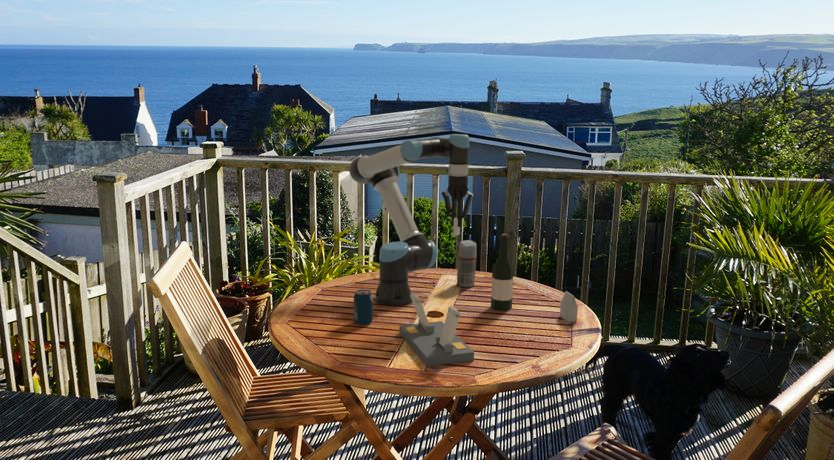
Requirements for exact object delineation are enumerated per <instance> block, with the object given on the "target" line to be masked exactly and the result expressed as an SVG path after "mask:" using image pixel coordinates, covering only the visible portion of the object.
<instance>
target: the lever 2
mask: <svg viewBox="0 0 834 460" xmlns="http://www.w3.org/2000/svg"><path fill="white" fill-rule="evenodd" d="M460 317H461V312H460V311H459V310H458V309H456V308H455V307H454V306H453V305H450V306H448V308H447V313H446V317H445V320H444V322H443V323H444V327H443V330H442V334H441V337H440V341H439V343H440V344H441V345H442V346H443V348H444V345H446V344H452V341H453V337H454V334H456V330H457V326H458V323H459V319H460Z"/></svg>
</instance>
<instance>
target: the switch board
mask: <svg viewBox="0 0 834 460" xmlns="http://www.w3.org/2000/svg"><path fill="white" fill-rule="evenodd" d="M428 323H429V325H428V326H426V330H425V329H424V328H423V327H422V326H421V323H420V321H419V320H418V323H409V324H400V325H399V327H398V329H399V331H398V332H399V333H400V334H399V333H398V334H399V335H400V336H401V337H402V338H403V340H404V339H405V340H404V341H405V342H406V343H407V344H408V346H409V347H410V348H411V349H412V351H414V353H415V354H416V355H417V356H418V357H419V359H420V360H421V361H422V363H423V364H424V365H425V364H426V365H427V366H426V365H425V366H426V367H432V366H431V365H435V366H443V365H450V364H457V363H458V364H459V363H466V362H474V361H475V360H474V359H475V351H474V350H473V349H471V348H470V347H469V345H467V343H465V342H464V341H463V340H462V339H461V338H460V337H459V336H458V335H457V334H456V333H455V334H454V337H453V341H452V344H446V345H444V348H443V346H442V345H441V344H440V343H439V341H440V337H441V334H442V330H443V327H444V323H445V322H444V321H442V320H439V321H431V322H430V321H428Z"/></svg>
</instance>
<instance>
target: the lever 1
mask: <svg viewBox="0 0 834 460" xmlns="http://www.w3.org/2000/svg"><path fill="white" fill-rule="evenodd" d="M410 297H411V299H412V301H411V302H412V304H413V306H414V309H415V311H416V314H417V318H418V322H419V321H420V323H421V326H422V327H423V328H424V329H425V330H426V326H428V325H429V323H428V322H429V320H428V318H427V314H426V312H425V309H424V306H423V304H422V299H421V298H420V297H419V296H418V295H417V294H416V293H415V292H411V294H410Z"/></svg>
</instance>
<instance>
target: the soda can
mask: <svg viewBox="0 0 834 460" xmlns="http://www.w3.org/2000/svg"><path fill="white" fill-rule="evenodd" d="M373 298H374V296H373V294H372V291H371V290H370V289H358V290H356V291H355V294H354V295H353V321H354V323H355V324H356V325H358V326H368V325H371V323H372V322H373V320H374V319H373V318H374V317H373V316H374V314H373V313H374V311H373V310H374V307H373V306H374V305H373V303H374V302H373V300H374V299H373Z"/></svg>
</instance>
